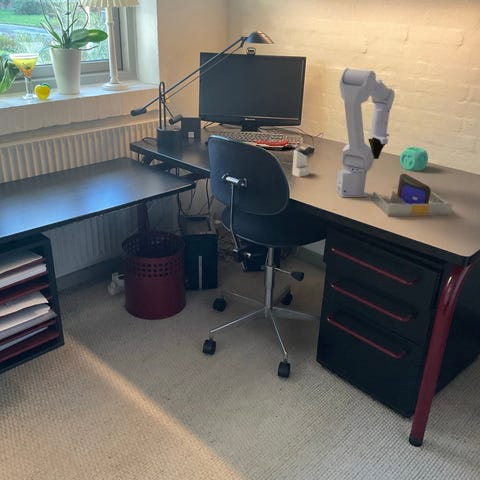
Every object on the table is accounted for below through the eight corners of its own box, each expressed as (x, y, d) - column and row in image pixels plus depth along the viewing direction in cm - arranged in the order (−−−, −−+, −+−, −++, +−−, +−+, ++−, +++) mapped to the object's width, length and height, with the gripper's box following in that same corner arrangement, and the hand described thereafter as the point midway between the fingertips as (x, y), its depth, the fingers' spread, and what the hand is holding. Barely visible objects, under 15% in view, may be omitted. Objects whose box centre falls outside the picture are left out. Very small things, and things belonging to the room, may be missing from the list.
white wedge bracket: (284, 170, 205) (294, 149, 205) (299, 178, 212) (308, 158, 212) (291, 172, 203) (300, 151, 202) (306, 181, 210) (315, 160, 209)
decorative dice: (411, 164, 226) (414, 146, 223) (426, 169, 220) (429, 150, 217) (398, 167, 222) (401, 148, 219) (413, 172, 216) (416, 152, 213)
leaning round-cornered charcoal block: (389, 198, 186) (392, 172, 182) (400, 197, 188) (404, 172, 184) (415, 215, 172) (420, 188, 168) (427, 214, 173) (432, 187, 169)
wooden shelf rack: (388, 216, 171) (389, 204, 169) (372, 200, 184) (373, 189, 183) (450, 215, 173) (452, 203, 172) (430, 199, 187) (432, 188, 185)
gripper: (398, 126, 187) (392, 163, 192) (383, 117, 200) (378, 153, 205) (378, 126, 186) (373, 164, 191) (365, 117, 199) (360, 153, 204)
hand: (374, 158), depth 198 cm, fingers closed
